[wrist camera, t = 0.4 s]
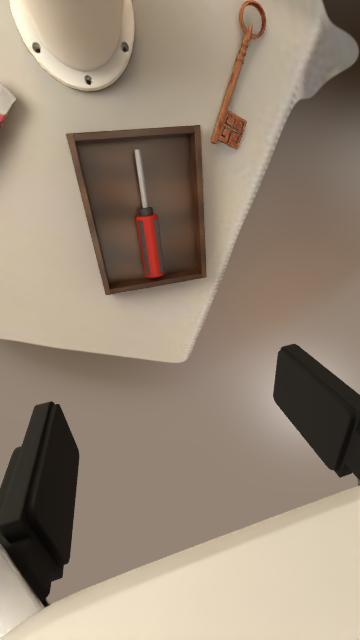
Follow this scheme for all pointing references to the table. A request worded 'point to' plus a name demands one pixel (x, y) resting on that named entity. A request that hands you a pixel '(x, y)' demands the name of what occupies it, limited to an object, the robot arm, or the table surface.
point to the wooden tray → (125, 200)
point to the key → (239, 62)
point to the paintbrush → (5, 102)
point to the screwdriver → (148, 230)
